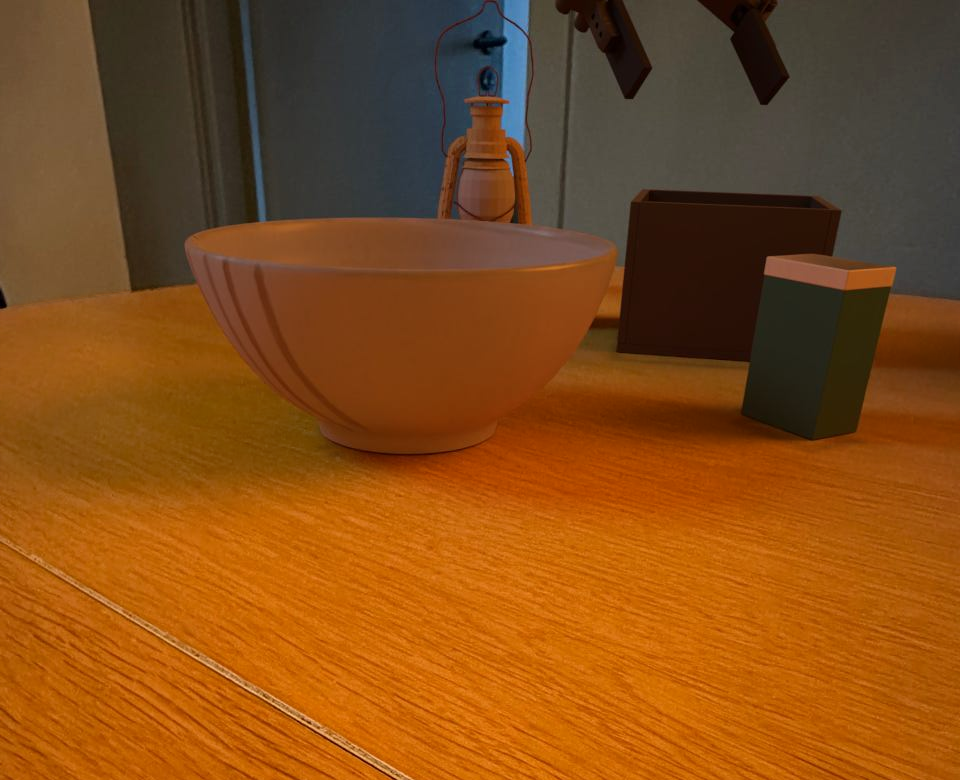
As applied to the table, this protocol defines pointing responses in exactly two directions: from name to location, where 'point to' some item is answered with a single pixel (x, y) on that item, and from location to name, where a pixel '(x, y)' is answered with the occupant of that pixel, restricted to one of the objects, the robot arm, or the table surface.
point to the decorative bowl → (402, 318)
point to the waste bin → (709, 266)
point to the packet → (815, 343)
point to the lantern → (486, 161)
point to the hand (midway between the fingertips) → (710, 88)
